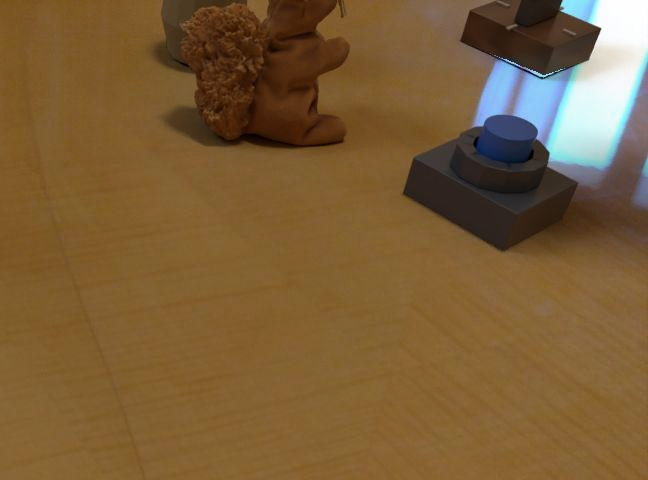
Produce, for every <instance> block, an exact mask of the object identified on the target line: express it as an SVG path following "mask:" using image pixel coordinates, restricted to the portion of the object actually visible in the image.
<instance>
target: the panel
mask: <svg viewBox="0 0 648 480" xmlns="http://www.w3.org/2000/svg"><path fill="white" fill-rule="evenodd" d="M520 2H521V0H494V1H491V2H488V3H486V4H483V5H479V6H477V7H474V8H471V9H470V10H469V11H468V15H467V17H466V21H465V25H464V27H463V31H462V33H461V37H460V42H462V43H464V44H466V45H468V44H469V45H468V46H471V47H473V46H474V47H473V48H475V47H476V48H475V49H477V48H479V49H480V50H479V49H478V50H479V51H481V50H483V51H486V52H487V53H486V52H485V53H486V54H488V53H491V54H493V55H496V56H498V57H500V58H503V59H507V60H509V61H511V62H514V63H516V64H518V65H520V66H522V67H526V68H528V69H530V70H533V71H536V72H538V73H540V74H542V75H546V74H549V73H552V72H555V71H558V70H560V69H564V68H567V67H569V68H571V67H570V66H572V67H574V66H576V65H578V64H582V63H583V62H586V61H588V60H590V59H591V56H592V54H593V51H594V48H595V46H596V44H597V41H598V38H599V36H600V34H601V31H602V27H600V26H598V25H595V24H593V23H590V22H588V21H586V20H583V19H581V18H578V17H577V16H574V15H571V14H569V13H567V12H564V11H563V10H565V7H564V6H560V9H559V12H558V14H557V16H554V17H552V18H549V19H546V20H544V21H541V22H539V23H536V24H533V25H531V26H528V27H527V26H524V25H522V24H520V23H517V22H515V21H514V20H515V17H516V14H517V11H518V8H519V5H520ZM483 51H482V52H483ZM573 65H574V66H573ZM567 69H568V68H567Z"/></svg>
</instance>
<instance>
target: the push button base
mask: <svg viewBox="0 0 648 480" xmlns="http://www.w3.org/2000/svg"><path fill="white" fill-rule="evenodd" d="M482 128H483V125H479V126H473V127H471V128H469V129H466V130H464V131H462V132H460V133H459V135H458V137H456V138H453V139H451V140H448V141H447V142H445V143H443V144H440V145H438V146H435V147H434V148H431V149H429V150H426V151H424V152H422V153H420V154H418V155H415V156H413V158H412V162H411V165H410V168H409V171H408V175H407V178H406V181H405V185H404V188H403V191H402V194H403V195H404V196H407V197H409V198H411V199H412V200H413V201H416V202H417V203H419V204H421V205H422V206H424V207H426V208H427V209H429V210H431V211H432V212H434V213H436V214H438V215H439V216H442V217H443V218H444V219H447V220H448V221H450V222H452V223H453V224H455V225H457V226H458V227H461V228H462V229H463V230H465V231H467V232H469V233H470V234H472V235H474V236H476V237H477V238H479V239H481V240H482V241H484V242H486V243H488V244H490V245H491V246H493V247H495V248H496V249H498V250H500V251H502V252H504V251H506V250H508V249H509V248H511V247H513V246H515V245H516V244H517V245H518V243H521V242H522V241H524V240H527V239H528V238H530V237H532V236H533V235H536V234H537V233H539V232H541V231H543V230H544V229H547V228H548V227H550V226H552V225H554V224H556V223H558V222H560V221H561V220H563V219H564V217H565V215H566V213H567V211H568V208H569V205H570V204H571V202H572V199H573V197H574V194H575V192H576V190H577V188H578V186H579V182H578V181H576V180H575V179H572V178H570V177H568V176H567V175H565V174H563V173H560V172H559V171H557V170H555V169H553V168H551V167H549V166H548V165H549V160H550V155H551V152H550V150H549V149H547V147H546V146H545V145H544V144H543V143H542V141H541V140H539V139H538V138H536V140H535V142H534V145H533V147H532V150H531V153H530V155H529V158H528V160H527V161H526V162H524V163H504V162H499V161H495V160H491V159H489V158H487V157H486V156H484V155H482V154H480V153H479V152H478V151H477V150H476V145H477V142H478V139H479V136H480V133H481V131H482Z"/></svg>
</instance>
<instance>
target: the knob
mask: <svg viewBox="0 0 648 480" xmlns="http://www.w3.org/2000/svg"><path fill="white" fill-rule="evenodd" d="M563 1H564V0H521V2H520V5H519V8H518V11H517V14H516V17H515V20H514V21H515V22H517V23H520V24H522V25H524V26H527V27H528V26H531V25H533V24H536V23H539V22H541V21H544V20H546V19H549V18H552V17H554V16H557V14H558V12H559V9H560V7H561V5H562V3H563Z"/></svg>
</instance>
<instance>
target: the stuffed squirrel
mask: <svg viewBox="0 0 648 480" xmlns="http://www.w3.org/2000/svg"><path fill="white" fill-rule="evenodd" d="M267 1H268V6H267V9H266V18H265V19H264V20H263V21H262V22H261V21H260V19H259V17H257V15H256V14H255V12H254V11H253V10H250V7H249V6H247V7H246V5H244V4H236V3H232V4H231V5H230V6H229V5H228V6H226V7H225V8H220V7H218V8H217V7H215V6H212V7H209V8H208V7H206V8H203V7H202V8H200V9H199V10H198V11H197V12H195V13H194V15H195V16H196V17H194V18H193V17H191V19H189V21H186V22H185V23H183V24H182V23H179V25H180V27H181V28H182V29H183V32H185V33H186V34H188V37H184V39H182V42H180V44H181V45H182V47H181V48H182V51H181V53H182V55H183V56H182V57H183V59H185V62H186V63H187V64H186V65H187V66H188V67H189V68H191V70H192V72H193V73H194V74H195V81H196V87H197V89H196V90H194V95H193V98H194V104H195V105H196V107H197V111H198V115H199V116H200V117H201V121H203V122H204V125H206V126H207V128H209V129H210V131H211V132H213V133H214V134H215V135H216V136H219V137H221V138H222V139H224V140H225V141H234V140H237V139H239V138H240V137H241V136H242V135H246V134H247V135H253V134H255V135H258V136H260V137H263V138H264V139H268V140H271V141H276V142H281V143H284V144H285V143H286V144H291V145H294V146H314V145H324V144H330V143H331V144H332V143H338V142H341V141H343V140H344V139H345V137H346V136H347V133H348V125H346V122H345V121H344V120H343V119H342V118H341V117H340V116H338V115H334V114H328V113H319V112H318V104H319V93H320V88H319V86H320V85H319V80H318V78H319V77H320V76H322V75H324V74H327V73H328V72H332V71H334V70H336V69H338V68H340V67H341V66H342V65H344V63H345V62H346V61H347V59H348V57H349V54H350V49H351V45H350V43H349V42H348V41H347V40H346V39H345V37H343V36H337V37H334V38H331V39H327V40H325V36H324V35H323V34H322V33H321V32H320V31H318V29H317V27H318V25H319V24H320V23H321V22H322V21H323V20H324V19H326V18H327V17H328V16H329V15H330V14H331V13H332V12H333V11H334V10H335V9H336V7H337V6H339V9H340V18H341V19H344V18H345V16H348V10H347V7H346V3H345V0H267ZM337 4H338V5H337Z"/></svg>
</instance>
